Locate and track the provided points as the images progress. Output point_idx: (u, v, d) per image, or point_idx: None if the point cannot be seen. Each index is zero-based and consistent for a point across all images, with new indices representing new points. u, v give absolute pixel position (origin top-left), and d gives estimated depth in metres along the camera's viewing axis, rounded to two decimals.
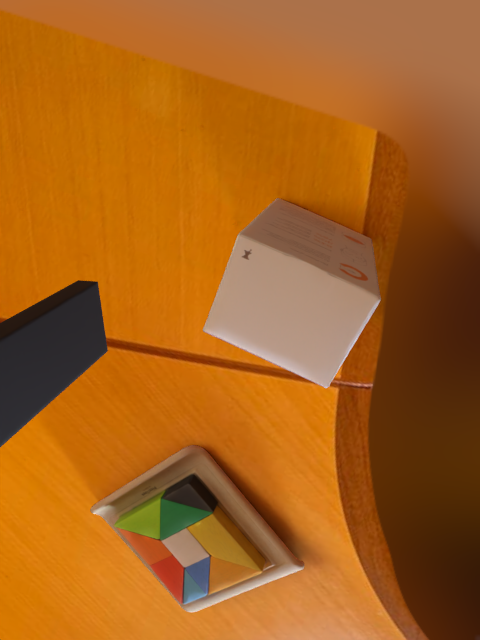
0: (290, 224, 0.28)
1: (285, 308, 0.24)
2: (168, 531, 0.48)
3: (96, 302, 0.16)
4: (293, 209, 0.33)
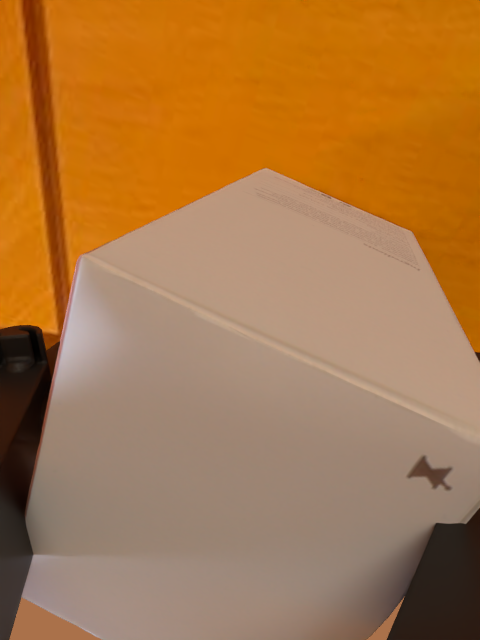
0: None
1: (223, 551, 0.07)
2: None
3: None
4: None
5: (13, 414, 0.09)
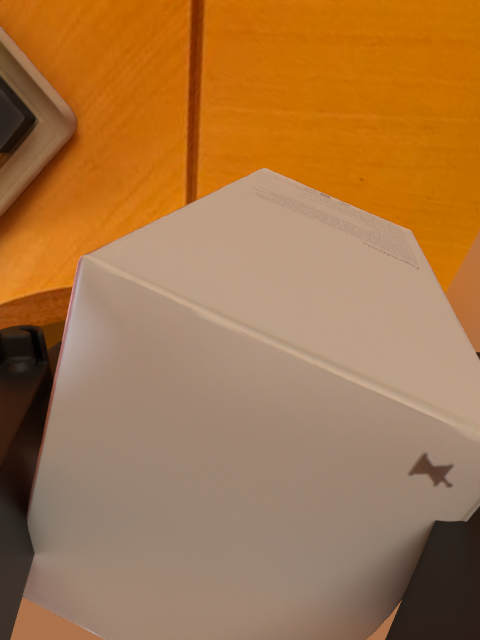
0: None
1: (225, 551, 0.07)
2: None
3: None
4: None
5: (14, 414, 0.09)
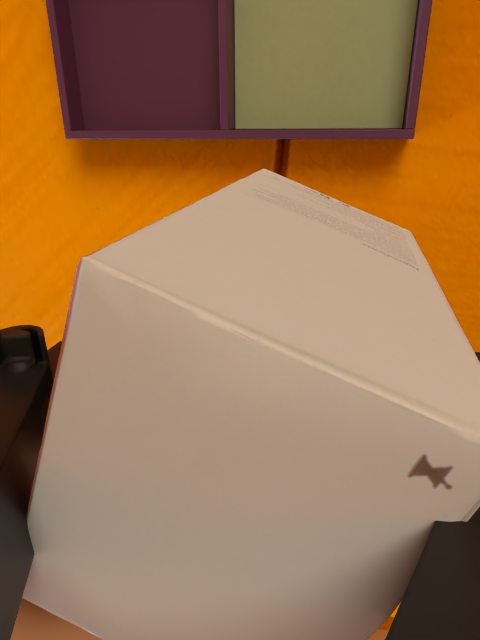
0: None
1: (225, 552, 0.07)
2: None
3: None
4: None
5: (14, 414, 0.09)
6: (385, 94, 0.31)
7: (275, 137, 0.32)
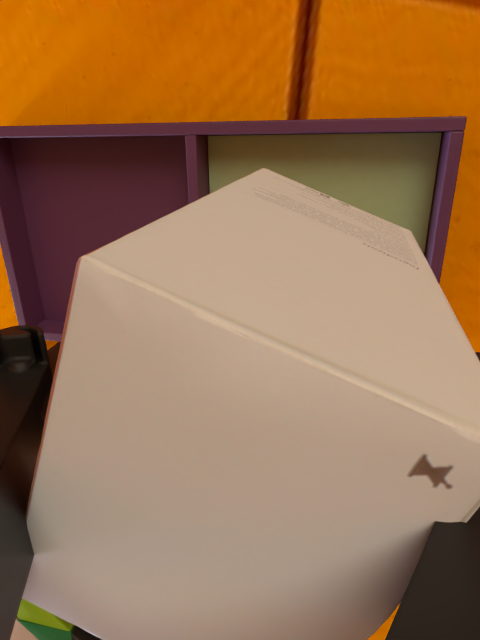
0: None
1: (224, 552, 0.07)
2: (33, 631, 0.44)
3: None
4: None
5: (14, 414, 0.09)
6: None
7: None
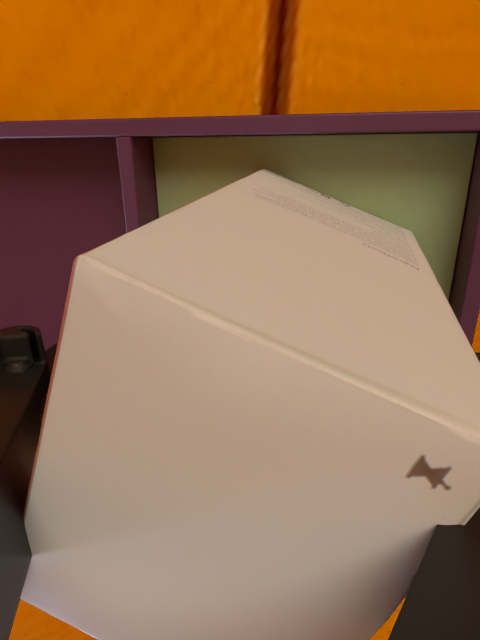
0: None
1: (222, 553, 0.07)
2: None
3: None
4: None
5: (12, 414, 0.09)
6: None
7: None
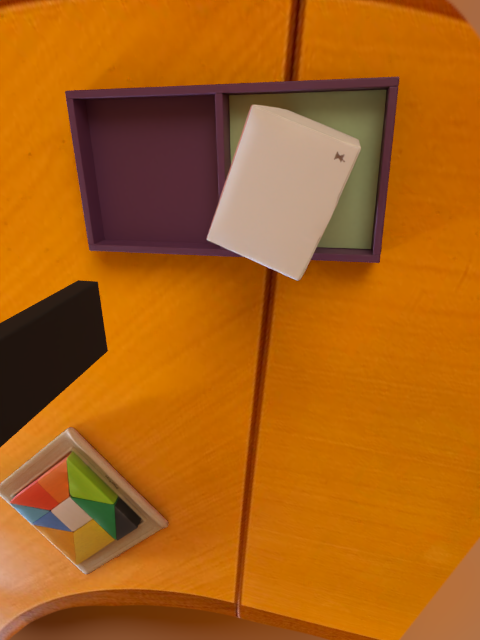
0: None
1: (285, 197, 0.25)
2: (83, 506, 0.55)
3: (96, 302, 0.16)
4: None
5: None
6: (356, 223, 0.37)
7: None
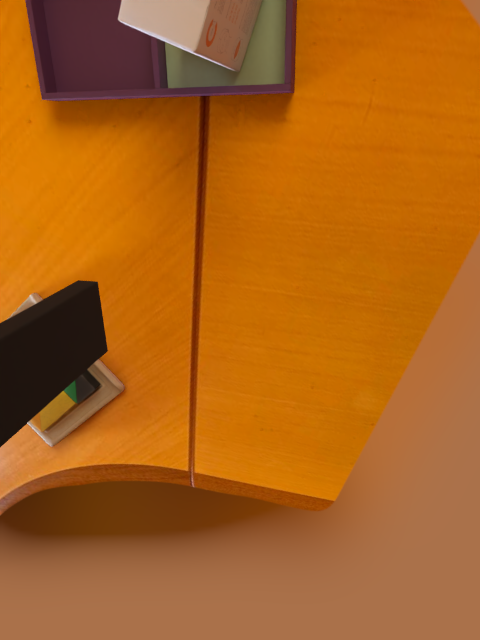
0: None
1: None
2: None
3: (96, 302, 0.16)
4: None
5: None
6: (272, 59, 0.42)
7: (194, 92, 0.43)
